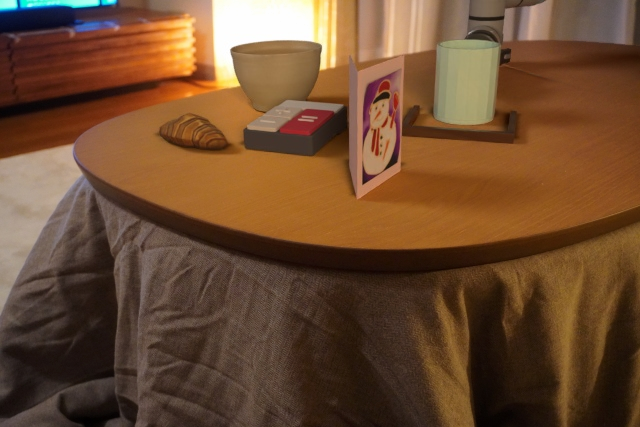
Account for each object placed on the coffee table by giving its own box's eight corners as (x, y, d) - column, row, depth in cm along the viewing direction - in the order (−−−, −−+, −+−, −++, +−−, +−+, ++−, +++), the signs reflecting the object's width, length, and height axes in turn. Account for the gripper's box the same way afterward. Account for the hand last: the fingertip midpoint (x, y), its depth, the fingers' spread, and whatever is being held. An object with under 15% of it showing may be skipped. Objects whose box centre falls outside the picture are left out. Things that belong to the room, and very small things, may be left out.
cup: (506, 120, 102) (514, 46, 97) (453, 128, 99) (459, 51, 94) (471, 106, 110) (477, 37, 106) (421, 113, 107) (425, 42, 102)
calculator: (241, 124, 90) (285, 96, 102) (244, 152, 92) (287, 121, 104) (311, 131, 86) (348, 101, 98) (312, 160, 88) (348, 127, 100)
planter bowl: (311, 94, 122) (310, 37, 118) (332, 114, 108) (332, 50, 103) (230, 100, 119) (225, 42, 114) (240, 122, 104) (235, 56, 100)
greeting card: (363, 201, 72) (364, 72, 66) (310, 189, 76) (307, 66, 70) (406, 171, 81) (410, 55, 75) (356, 162, 85) (357, 50, 79)
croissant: (145, 143, 95) (140, 111, 93) (178, 132, 100) (174, 102, 98) (208, 159, 87) (205, 124, 85) (241, 146, 92) (238, 113, 90)
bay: (413, 113, 107) (414, 104, 107) (516, 119, 102) (517, 110, 102) (398, 135, 96) (399, 126, 95) (513, 143, 91) (514, 133, 90)
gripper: (511, 67, 126) (505, 94, 106) (446, 65, 130) (428, 90, 110) (515, 29, 123) (510, 49, 103) (448, 28, 127) (430, 47, 107)
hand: (468, 70), depth 106 cm, fingers closed
